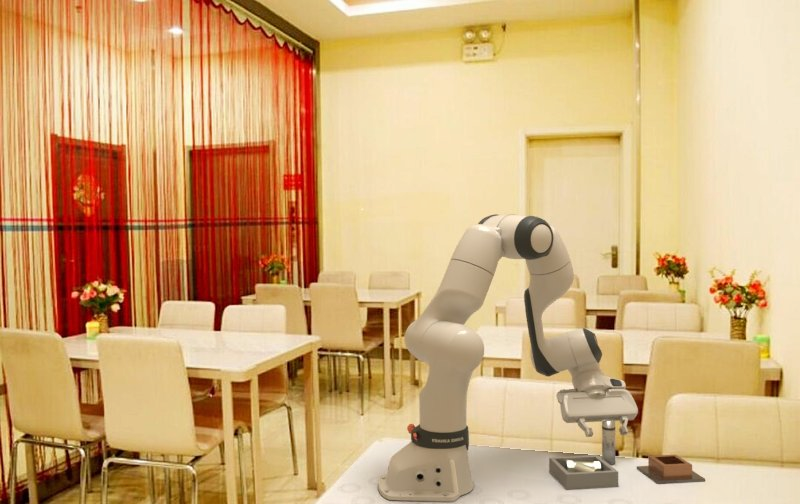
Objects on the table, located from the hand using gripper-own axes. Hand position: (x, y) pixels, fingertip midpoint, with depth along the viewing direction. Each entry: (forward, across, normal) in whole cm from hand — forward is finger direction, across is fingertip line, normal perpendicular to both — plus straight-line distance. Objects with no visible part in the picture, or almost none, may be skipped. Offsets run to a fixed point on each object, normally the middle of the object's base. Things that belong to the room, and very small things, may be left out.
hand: (607, 434), depth 164 cm
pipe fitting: (+12, -10, -2) cm, 16 cm away
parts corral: (+12, -11, -2) cm, 17 cm away
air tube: (+6, 0, +4) cm, 7 cm away
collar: (+13, +11, -3) cm, 17 cm away
